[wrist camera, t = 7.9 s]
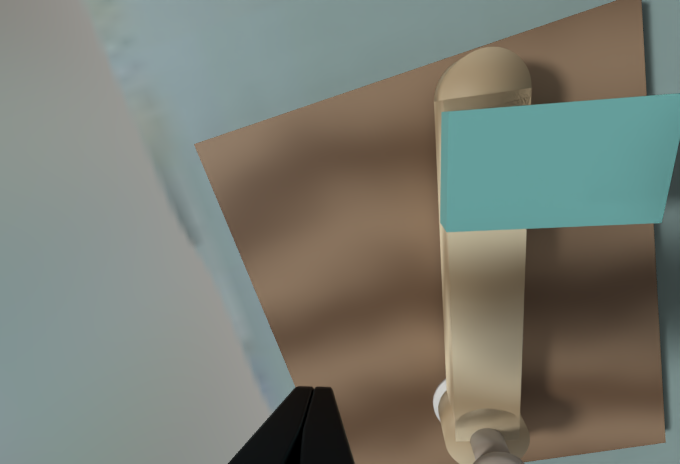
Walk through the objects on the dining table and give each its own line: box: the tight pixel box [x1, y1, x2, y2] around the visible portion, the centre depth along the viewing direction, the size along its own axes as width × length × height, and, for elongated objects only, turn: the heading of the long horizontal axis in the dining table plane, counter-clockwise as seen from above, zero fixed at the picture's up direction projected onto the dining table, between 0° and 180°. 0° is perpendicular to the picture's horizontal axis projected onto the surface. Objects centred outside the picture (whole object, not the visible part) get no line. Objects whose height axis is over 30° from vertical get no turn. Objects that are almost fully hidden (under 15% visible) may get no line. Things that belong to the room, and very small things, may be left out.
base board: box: [194, 0, 666, 464], centre depth 18 cm, size 22×19×1 cm
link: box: [434, 47, 532, 464], centre depth 15 cm, size 20×4×4 cm, turn 7°
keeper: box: [433, 93, 680, 421], centre depth 15 cm, size 18×7×4 cm, turn 4°
